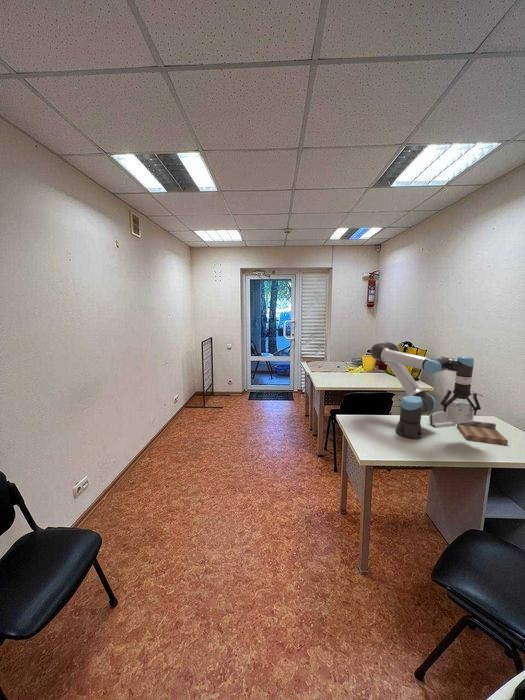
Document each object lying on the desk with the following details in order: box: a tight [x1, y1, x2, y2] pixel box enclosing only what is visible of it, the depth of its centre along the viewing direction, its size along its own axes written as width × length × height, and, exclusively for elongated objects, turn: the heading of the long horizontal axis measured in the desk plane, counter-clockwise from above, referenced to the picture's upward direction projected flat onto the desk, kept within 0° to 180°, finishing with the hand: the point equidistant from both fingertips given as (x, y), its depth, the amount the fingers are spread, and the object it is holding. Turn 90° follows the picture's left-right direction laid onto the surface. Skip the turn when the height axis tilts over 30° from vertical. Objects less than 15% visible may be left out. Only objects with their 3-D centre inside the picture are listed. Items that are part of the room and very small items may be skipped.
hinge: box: [428, 410, 457, 429], centre depth 185 cm, size 17×5×10 cm, turn 102°
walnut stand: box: [456, 420, 509, 446], centre depth 168 cm, size 20×18×6 cm
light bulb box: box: [447, 400, 473, 425], centre depth 159 cm, size 11×7×11 cm, turn 106°
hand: (458, 418), depth 159 cm, fingers closed on light bulb box, 12 cm apart
